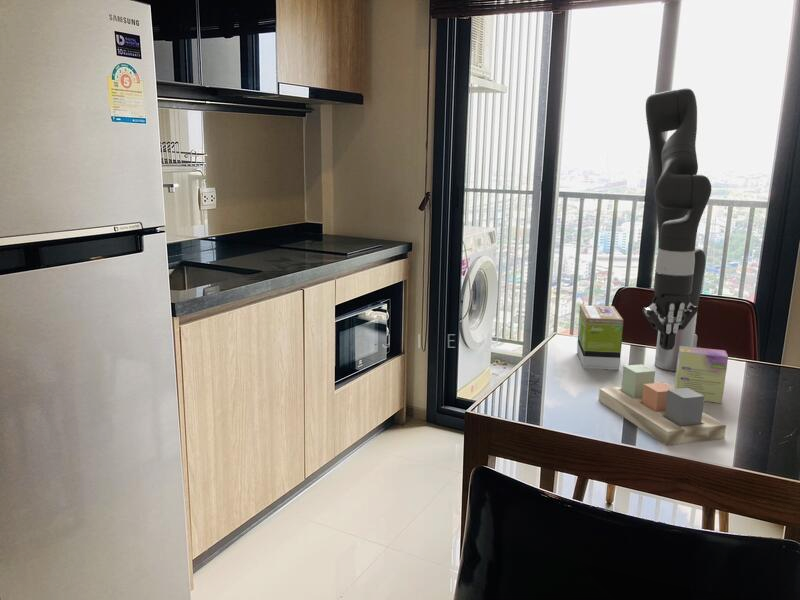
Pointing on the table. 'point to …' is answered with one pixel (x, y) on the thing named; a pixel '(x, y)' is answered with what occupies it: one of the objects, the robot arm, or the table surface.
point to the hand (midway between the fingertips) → (666, 348)
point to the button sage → (636, 379)
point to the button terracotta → (655, 396)
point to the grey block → (684, 407)
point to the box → (702, 371)
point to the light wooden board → (660, 420)
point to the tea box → (599, 337)
